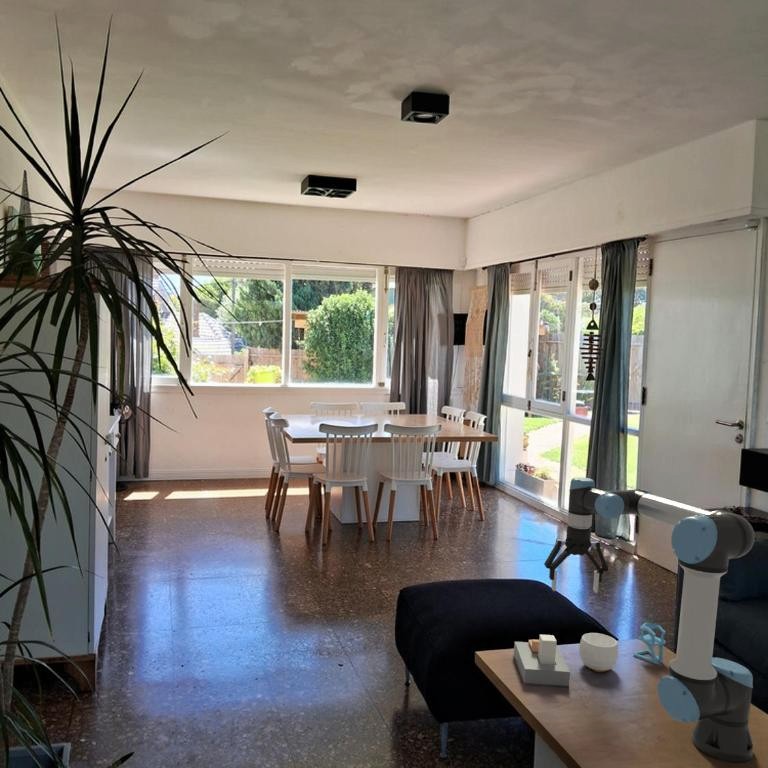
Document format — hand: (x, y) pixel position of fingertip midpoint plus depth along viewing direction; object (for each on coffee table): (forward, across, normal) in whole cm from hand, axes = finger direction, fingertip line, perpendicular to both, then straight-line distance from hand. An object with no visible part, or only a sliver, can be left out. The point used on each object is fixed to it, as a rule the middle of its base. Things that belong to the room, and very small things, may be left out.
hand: (574, 590), depth 234 cm
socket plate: (+27, +9, 0) cm, 29 cm away
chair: (+28, -32, -14) cm, 45 cm away
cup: (+28, -11, -5) cm, 30 cm away
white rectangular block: (+27, +8, +3) cm, 28 cm away
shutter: (+22, +8, -6) cm, 24 cm away
